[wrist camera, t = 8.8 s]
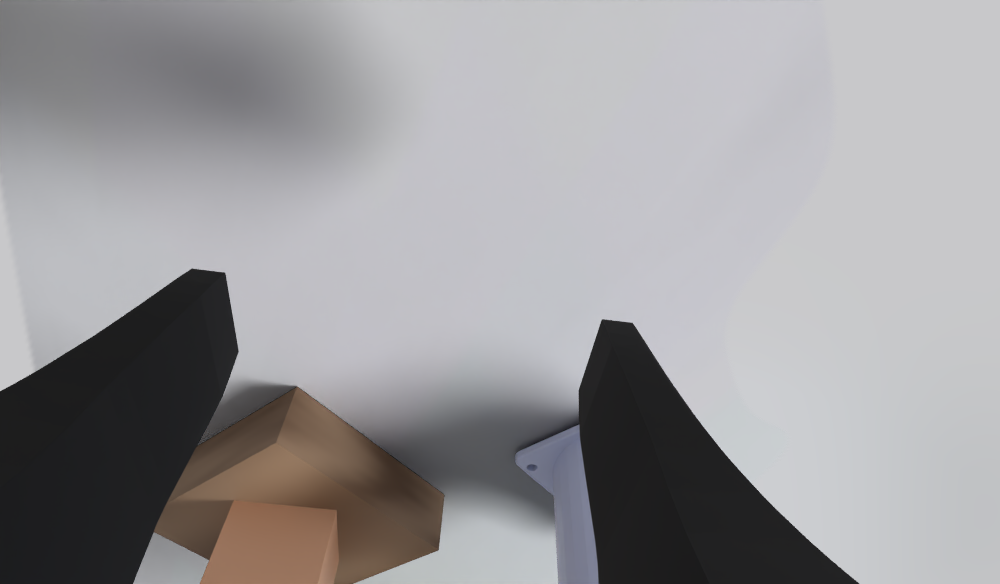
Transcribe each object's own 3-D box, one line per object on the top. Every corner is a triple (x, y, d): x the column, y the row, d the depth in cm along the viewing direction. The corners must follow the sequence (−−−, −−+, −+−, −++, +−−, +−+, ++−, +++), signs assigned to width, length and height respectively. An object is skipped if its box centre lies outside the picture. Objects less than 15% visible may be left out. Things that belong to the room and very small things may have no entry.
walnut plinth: (444, 495, 32) (438, 550, 29) (312, 552, 36) (297, 604, 33) (297, 386, 27) (276, 442, 24) (162, 466, 31) (133, 521, 28)
